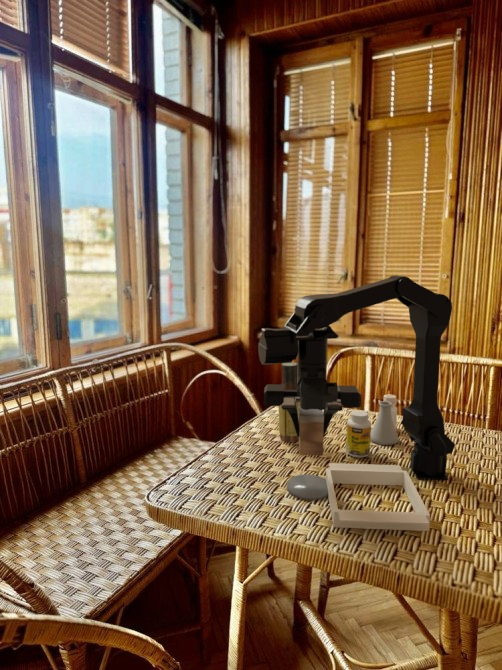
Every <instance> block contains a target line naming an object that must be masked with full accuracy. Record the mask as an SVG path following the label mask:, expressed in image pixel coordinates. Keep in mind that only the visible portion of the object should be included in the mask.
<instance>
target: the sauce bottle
mask: <svg viewBox="0 0 502 670" xmlns="http://www.w3.org/2000/svg"><path fill="white" fill-rule="evenodd" d="M281 370H282V382H281V384H280V385H284V390H297V363H296V362H294V361H292V362H291V363H281ZM296 403H297V411H298V419H299V405H300V400H296ZM278 430H279V431H278V432H279V438H280V440H282V441H284V442H289V443H296V442H299V437H298V436H297V433H296V430H295V427H294V424H293V421H292V418H291V416H290V414H289V413H288V411H287V410H283V409H282V404H281V405H280V406H278Z"/></svg>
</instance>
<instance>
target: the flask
mask: <svg viewBox="0 0 502 670" xmlns="http://www.w3.org/2000/svg"><path fill="white" fill-rule="evenodd" d="M378 405H379V410H378V415H377V418H376V420H375V422H374V425H373V427H372V428H371V436H370V442H373V443H375V444H377V445H380V446H386V445H387V446H392V445H395V444H398V443H399V442H400V439H399V436H398V433H397V429H396V430H395V427H394V424H393V420H392V415H391V406H392V405H393V404H392V403H391V402H388V401H384V400H383V401H382V400H381V401H379V402H378Z"/></svg>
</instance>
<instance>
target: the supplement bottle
mask: <svg viewBox="0 0 502 670" xmlns="http://www.w3.org/2000/svg"><path fill="white" fill-rule="evenodd" d="M371 431H372V422H371V421H370V420H369V413H368V412H367V411H365V410H364V411H363V410H360V409H359V410H357V409H356V410H353V411H351V412H350V418H348V420H347V422H346V441H345V442H346V443H345V444H346V445H345V452H346V453H347V455H349V456H351V457H352V458H353V457H354V458H358V459H359V458H360V459H361V458H365V457H368V456H369V455H370V449H371V448H370V447H371V439H370V436H371Z"/></svg>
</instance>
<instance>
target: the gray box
mask: <svg viewBox="0 0 502 670" xmlns="http://www.w3.org/2000/svg"><path fill="white" fill-rule="evenodd" d="M323 412H324V410H318V409H309V410H304V409H302V408H301V407H300V405H299V429H300V434H299V441H298V451H299V456H322V457H323V455H324V437H323V429H324V415H323Z"/></svg>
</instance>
